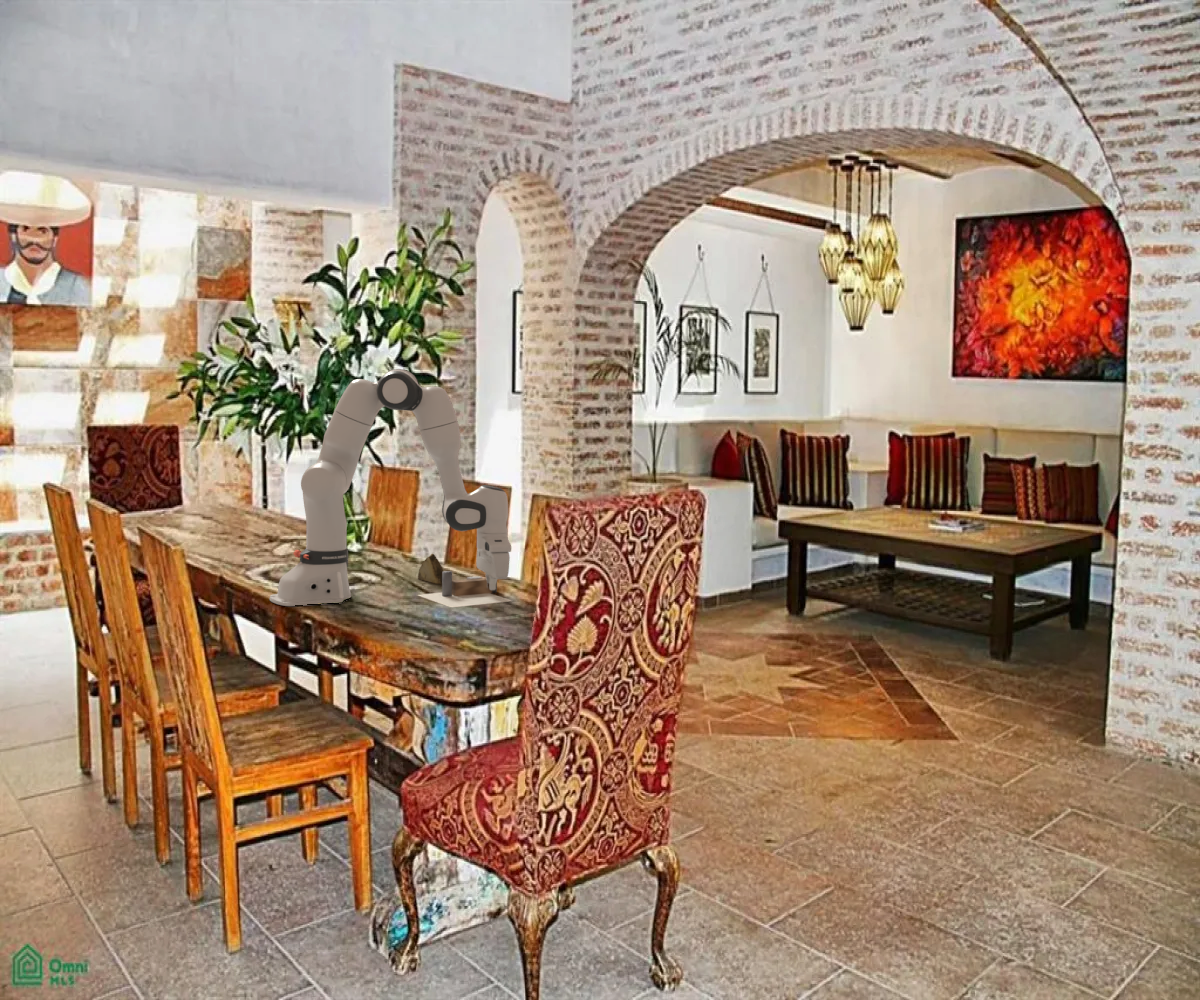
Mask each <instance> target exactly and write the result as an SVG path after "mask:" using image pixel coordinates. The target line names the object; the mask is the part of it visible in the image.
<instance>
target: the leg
mask: <svg viewBox="0 0 1200 1000" xmlns="http://www.w3.org/2000/svg"><path fill="white" fill-rule="evenodd" d="M497 592H498V581H497V582H496V589H495V590H490V589H488V588H487V581H486V577H482V578H480V579H468V580H467V579H457V580H455V579H454V580H452V595H454V596H463V595H475V594H486V593H490V594H494V593H495V594H496V593H497Z"/></svg>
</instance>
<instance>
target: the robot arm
mask: <svg viewBox="0 0 1200 1000" xmlns="http://www.w3.org/2000/svg"><path fill="white" fill-rule="evenodd" d="M384 407H385V408H388V409H390V410H393V411H409V412H412V413H413V415H414V416H415V419H416V422H417V426H418V430H419V433H420V437H421V441H422V442H423V445H424V447H425V450H426V451H427V453H428V455H429V457H431V459H432V461H433V462H434V464H435V466H436V469H437V472H438V476H439V480H440V484H441V488H442V491H443V501H442V507H441V514H442V517H443V520H444V521H445V522H446V523H447V524H448V525H449V527H450V528H452V529H453V530H455V531H458V532H467V531H472V530H476V562H475V564H476V565H475V566H476V568H477V570H480V571H482V572H483V573H485V578H486V581H487V588H488V589H490V590H495V589H496V582H497V583H498V580H506V579H508V576H509V572H510V558H511V557H510V553H511V552H512V544H511V542H510V541H509V535H508V533H509V530H508V526H507V522H508V518H509V502H508V501H509V500H508V494H507V493H506V491H505V490H504V489H502V488H500V487H498V486H494V485H489V484H487V485H486V484H485V485H480V487H478V488H476V489H475V490H474V491H472V492H469V493H468V491H467V490H466V487H465V484H464V480H463V476H462V472H461V468H460V462H459V455H460V449H461V446H462V445H461V443H462V441H461V440H462V439H461V430H460V426H459V422H458V417H457V414H456V411H455V408H454V405H453V403H452V401H451V399H450V397H449V395H448V392H447V391H446V389H444V388H443V387H440V386H436V385H435V386H433V385H432V386H431V385H430V386H425V387H424V386H421V385H420V383H419V380H418V379H417V377H416V375H415V374H414V373H412V372H410V371H409V370H407V369H402V368H395V369H391V370H389V371H387V372H386V373H384V374H383V375H382V376H381V377H380V378H379V379H378V380H377V381H375V382H373V381H370V380H367V379H365V378H363V379H362V378H357V379H353V380H352V381H350V383H349V384H348V385H347V387H346V388H345V390H344V391H343V393H342V394H341V397H340V398H339V400H338V402H337V404H336V407H335V408H334V410H333V413H332V416H331V418H330V421H329V423H328V426H327V427H326V430H325V432H324V435H323V440H322V446H321V448H320V452H319V456H318V459H317V460H316V463H314V464H311V465H310V466H309V467H308V468H306V470H304V472H303V473H302V474H303V475H302V477H301V480H300V486H301V487H300V488H301V491H302V499H303V500H302V501H303V506H304V508H303V509H304V513H305V522H306V525H305V526H306V528H305V529H306V535H305V536H306V538H305V539H306V541H305V542H306V544H305V545H306V548H305V549H304V550H299V549H295V550H294V552H293V553H292V554H293V555H294V557H295V558H299V562H298V563H297V564H296V565H295V566H294V567H292V568H291V569H289V571H287V572H286V573H285V574H283V575H282V576H281V577H280V579H279V582H278V588H277V593H275V594H274V593H273V594H270V595H269V601H270V602H271V603H274V604H276V605H280V606H285V607H296V606H295V605H303V606H308V605H307V604H318V603H332V602H342V601H343V600H344V599H347V598H350V597H351V596H352V593H351V589H350V588H351V587H350V585H349V576H348V567H349V550H348V548H347V530H348V529H347V518H346V512H345V505H344V494H346V493H347V491H348V490H349V488H350V486H351V483H352V481H353V478H354V475H355V473H356V469H357V468H358V467H357V466H358V464H359V460H360V457H361V455H362V454H361V453H362V451H363V448H364V446H365V443H366V441H367V439H368V436H369V434H370V431H371V429H372V426H373V424H374V422H375V419H376V417H377V416H378V413H379V412H380V410H381V409H383V408H384Z"/></svg>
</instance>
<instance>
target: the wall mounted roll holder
mask: <svg viewBox="0 0 1200 1000" xmlns="http://www.w3.org/2000/svg"><path fill="white" fill-rule="evenodd" d="M480 578H483V577H482V576H479V575H478V576H467V577H466V580H468V579H480ZM452 581H453V571H452V570H443V572H442V583H441V592H434V593H424V594H417V596H418V597H421V598H423V599H426V600H429V601H432V602H435V603H436V604H437V603H438V604H440V605H443V606H446V607H448V608H461V607H470V606H480V605H488V604H489V605H490V604H498V603H507V602H508V603H509V602H513V600H512V599H510V598H509V599H508V598H505V597H502V596H499V595H496V594H494V593H486V594H475V595H463V596H454V595H452Z"/></svg>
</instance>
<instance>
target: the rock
mask: <svg viewBox="0 0 1200 1000" xmlns="http://www.w3.org/2000/svg"><path fill="white" fill-rule="evenodd" d="M436 556H437V555H436V554H434V553H431V554H430V555H429V556H427V557H426V559H424V561H423V562H422V563H421V564H420V567H419V569H418V574H417V580H421V581H425V582H428V583H432V584H437V585H439V584H442V572H443V571H444V568H443V566H442V564H441V562H440V561H439V559H438V558H437V557H436Z"/></svg>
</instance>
